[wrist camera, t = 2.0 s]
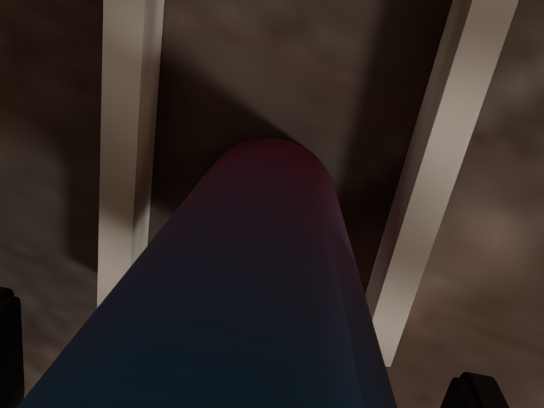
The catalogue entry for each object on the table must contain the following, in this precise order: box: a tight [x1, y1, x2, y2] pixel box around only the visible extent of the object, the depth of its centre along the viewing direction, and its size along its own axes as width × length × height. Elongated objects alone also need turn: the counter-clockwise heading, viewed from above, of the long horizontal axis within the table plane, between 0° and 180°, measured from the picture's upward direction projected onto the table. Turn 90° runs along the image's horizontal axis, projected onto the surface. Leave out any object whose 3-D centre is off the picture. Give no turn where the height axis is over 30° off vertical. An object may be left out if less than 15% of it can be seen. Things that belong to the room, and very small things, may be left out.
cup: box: [17, 137, 397, 408], centre depth 11 cm, size 7×7×15 cm
